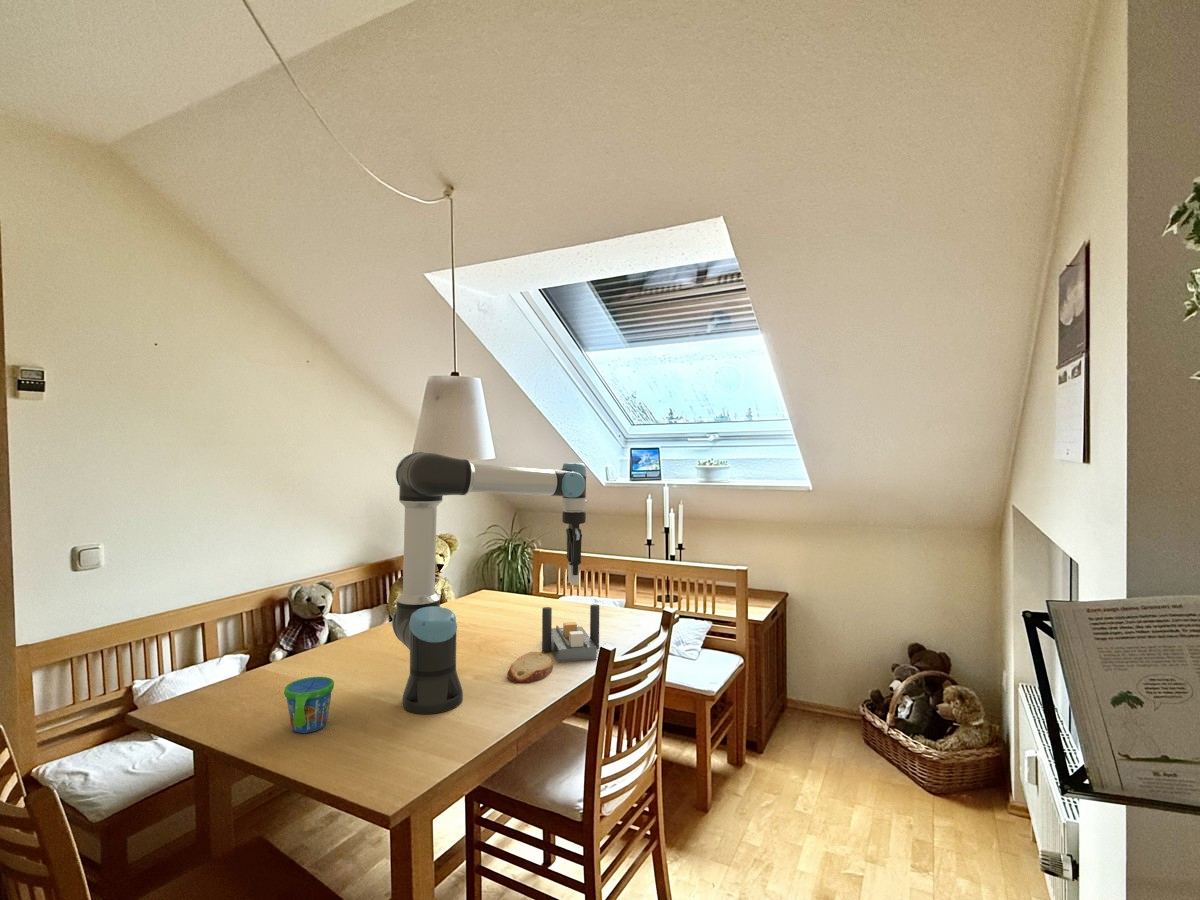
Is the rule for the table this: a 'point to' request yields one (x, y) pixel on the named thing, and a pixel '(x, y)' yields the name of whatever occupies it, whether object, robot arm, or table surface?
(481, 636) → the table surface
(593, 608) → the post right
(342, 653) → the table surface
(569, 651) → the grey tray
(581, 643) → the toggle
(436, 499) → the robot arm
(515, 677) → the bread slice
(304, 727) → the snack cup
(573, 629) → the toggle
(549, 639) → the post left
